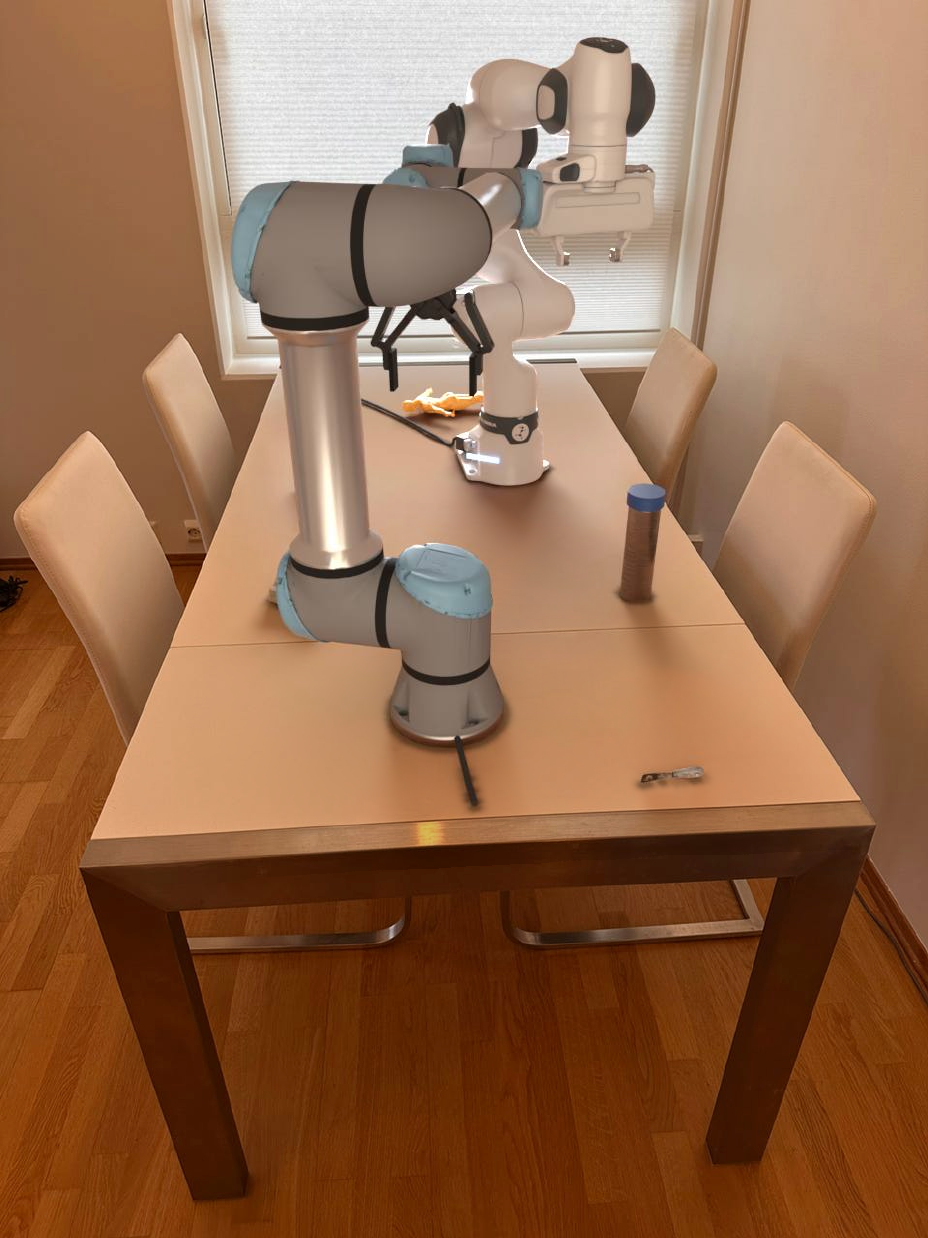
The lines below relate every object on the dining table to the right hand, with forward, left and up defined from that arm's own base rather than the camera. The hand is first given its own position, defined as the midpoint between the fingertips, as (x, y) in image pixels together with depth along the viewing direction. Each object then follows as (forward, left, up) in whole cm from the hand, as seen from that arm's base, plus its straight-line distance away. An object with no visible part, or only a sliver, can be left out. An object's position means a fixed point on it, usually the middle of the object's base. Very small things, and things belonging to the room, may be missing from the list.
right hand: (589, 263), depth 141 cm
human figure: (-73, +2, -48) cm, 88 cm away
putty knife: (+66, -18, -48) cm, 83 cm away
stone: (+7, -51, -48) cm, 70 cm away
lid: (+24, 0, -29) cm, 38 cm away
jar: (+24, 0, -48) cm, 53 cm away
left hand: (-6, -25, -20) cm, 32 cm away
